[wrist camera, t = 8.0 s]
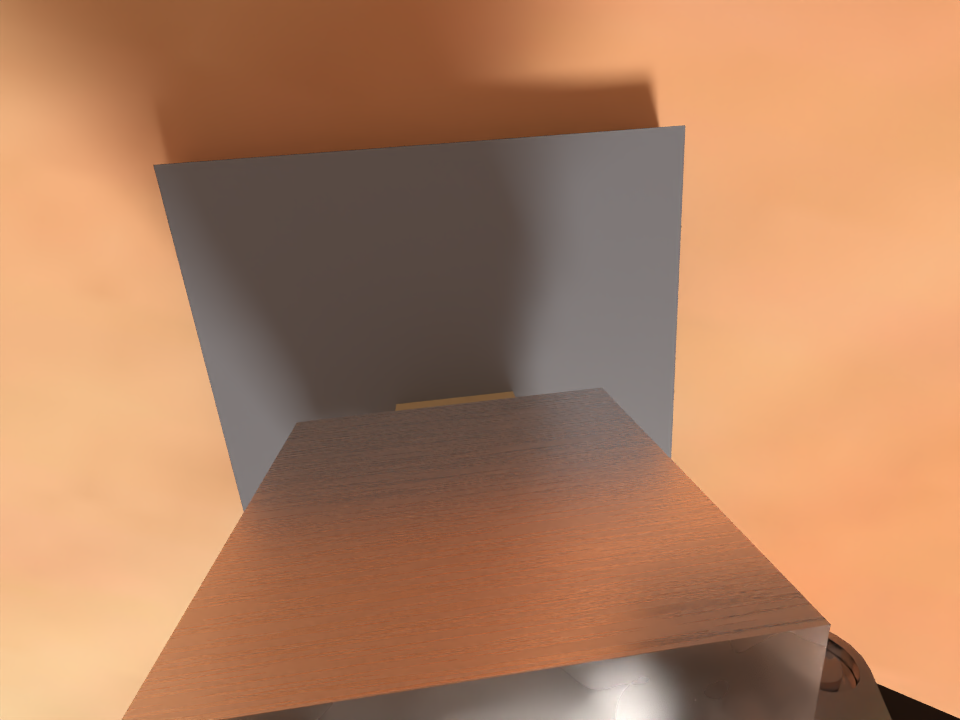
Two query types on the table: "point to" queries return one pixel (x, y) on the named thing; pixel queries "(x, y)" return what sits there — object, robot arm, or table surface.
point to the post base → (431, 279)
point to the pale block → (487, 582)
